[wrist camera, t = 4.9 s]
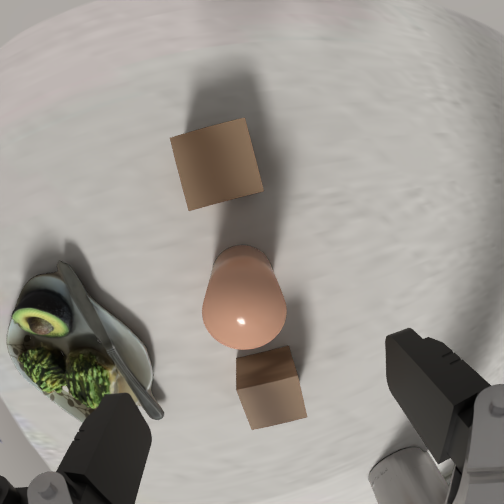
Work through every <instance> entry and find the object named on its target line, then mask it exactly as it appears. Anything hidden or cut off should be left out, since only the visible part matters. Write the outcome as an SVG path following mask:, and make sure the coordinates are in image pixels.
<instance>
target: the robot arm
mask: <svg viewBox="0 0 504 504" xmlns="http://www.w3.org/2000/svg"><path fill="white" fill-rule="evenodd" d="M385 346H386V377H387V383H388V386H389V389H390V391H391V393H392V395H393V396H394V398H395V399H396V401H397V402H398V404H399V405H400V407H401V408H402V410H403V411H404V413H405V414H406V416H407V417H408V419H409V420H410V422H411V423H412V425H413V426H414V428H415V429H416V431H417V432H418V434H419V435H420V437H421V438H422V440H423V442H424V443H425V445H426V446H427V448H428V449H429V451H430V452H431V454H432V455H433V457H434V459H435V460H436V462H437V463H438V464H440V463H442V462H444V461H445V460H447V459H449V458H451V459H452V460H453V462H454V463H455V465H454V468H453V472H452V477H451V481H450V485H448V483H447V482H446V480H445V479H444V477H443V475H442V474H441V472H440V471H439V469H438V467H437V466H436V464H435V463H434V461H433V460H432V458H431V456H430V455H429V453H428V452H423V451H422V449H420V448H418V447H410V448H406V449H403V450H400V451H398V452H396V453H393V454H392V455H390V456H388V457H386V458H385V459H384V460H382V461H381V462H380V463H378V464H377V465H376V466H375V467H374V468H373V469H372V471H371V472H370V474H369V482H370V484H371V487H372V489H373V492H374V494H375V497H376V499H377V502H378V504H504V384H497V385H493V386H491V385H490V384H489V383H488V382H487V381H485V380H484V379H483V378H482V377H481V376H480V375H479V374H478V373H477V372H476V371H474V370H473V369H472V368H471V367H470V366H469V365H468V364H467V363H466V362H464V361H463V360H461V359H460V357H459V356H458V355H456V354H455V353H453V352H452V350H451V349H450V348H448V347H447V346H446V345H445V344H444V343H443V342H440V341H438V340H435V339H432V338H430V337H427V338H425V339H422V338H421V337H420V336H419V335H418V334H417V333H416V332H415V331H414V330H413V329H411V328H407V329H404V330H401V331H399V332H396V333H393V334H390V335H388V336H387V337H386V340H385ZM151 442H152V437H151V431H150V428H149V426H148V424H147V423H146V421H145V419H144V418H143V416H142V414H141V412H140V411H139V409H138V407H137V405H136V403H135V402H134V400H133V398H132V396H131V395H130V394H129V393H114V394H106V395H104V397H103V398H102V400H101V402H100V404H99V405H98V407H97V409H95V410H94V411H93V412H92V413H91V414H90V415H89V416H88V417H87V418H86V419H85V420H84V422H83V423H82V425H81V427H80V429H79V432H77V434H76V436H75V438H74V441H72V443H71V445H70V447H69V449H68V450H67V452H66V454H65V456H64V458H63V460H62V462H61V464H60V465H59V467H58V469H57V471H56V472H45V473H42V474H40V475H38V476H37V477H36V478H34V479H33V480H32V482H31V483H30V485H29V487H23V488H14V487H13V486H12V485H11V484H10V483H9V482H8V481H7V479H6V478H4V477H3V476H0V504H135V500H136V497H137V493H138V489H139V485H140V482H141V478H142V475H143V471H144V467H145V464H146V460H147V457H148V453H149V450H150V446H151Z"/></svg>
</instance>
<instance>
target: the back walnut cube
mask: <svg viewBox="0 0 504 504" xmlns="http://www.w3.org/2000/svg"><path fill="white" fill-rule="evenodd" d="M236 390H237V393H238V396H239V398H240V401H241V403H242V406H243V409H244V411H245V414H246V416H247V419H248V421H249V424H250V426H251V429H252V430H254V429H259V428H264V427H269V426H273V425H278V424H282V423H286V422H290V421H294V420H298V419H302V418H306V417H307V413H306V409H305V405H304V400H303V396H302V391H301V387H300V383H299V378H298V374H297V371H296V368H295V365H294V361H293V358H292V355H291V352H290V348H289V346H285V347H281V348H277V349H273V350H269V351H265V352H261V353H257V354H253V355H249V356H244V357H240V358H236Z"/></svg>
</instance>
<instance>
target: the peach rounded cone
mask: <svg viewBox="0 0 504 504" xmlns="http://www.w3.org/2000/svg"><path fill="white" fill-rule="evenodd" d="M286 313H287V309H286V302H285V299H284V296H283V294H282V291H281V289H280V286H279V284H278V281H277V279H276V276H275V274H274V272H273V269H272V267H271V264H270V262H269V260H268V258H267V257H266V256H265V254H264V253H262V252H261V251H260V250H258V249H257V248H255V247H252V246H248V245H237V246H233V247H230V248H228V249H226V250H225V251H223V252H222V253H221V254H220V255H219V256H218V258H217V259H216V261H215V263H214V266H213V269H212V273H211V276H210V280H209V284H208V287H207V291H206V295H205V298H204V302H203V307H202V316H203V321H204V324H205V326H206V328H207V330H208V332H209V333H210V334H211V335H212V337H213V338H215V339H216V340H217V341H218V342H220V343H221V344H223V345H225V346H228V347H230V348H234V349H241V350H247V349H254V348H258V347H261V346H263V345H265V344H267V343H269V342H270V341H271V340H273V339H274V338H275V337H276V336H277V335H278V333H279V332H280V331H281V329H282V327H283V325H284V323H285V319H286Z"/></svg>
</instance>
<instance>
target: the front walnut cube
mask: <svg viewBox="0 0 504 504" xmlns="http://www.w3.org/2000/svg"><path fill="white" fill-rule="evenodd" d="M170 141H171V145H172V149H173V153H174V157H175V161H176V165H177V169H178V173H179V176H180V180H181V184H182V188H183V192H184V195H185V199H186V203H187V206H188V210H189V211H191V210H195V209H198V208H202V207H206V206H209V205H213V204H217V203H220V202H224V201H228V200H232V199H235V198H239V197H243V196H247V195H251V194H255V193H259V192H263V191H264V189H263V185H262V181H261V177H260V174H259V170H258V166H257V162H256V158H255V154H254V150H253V146H252V143H251V139H250V135H249V131H248V127H247V124H246V120H245V118H241V119H236V120H232V121H228V122H224V123H220V124H217V125H213V126H209V127H205V128H202V129H198V130H195V131H191V132H188V133H185V134H181V135H178V136H175V137H172V138H170Z"/></svg>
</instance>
